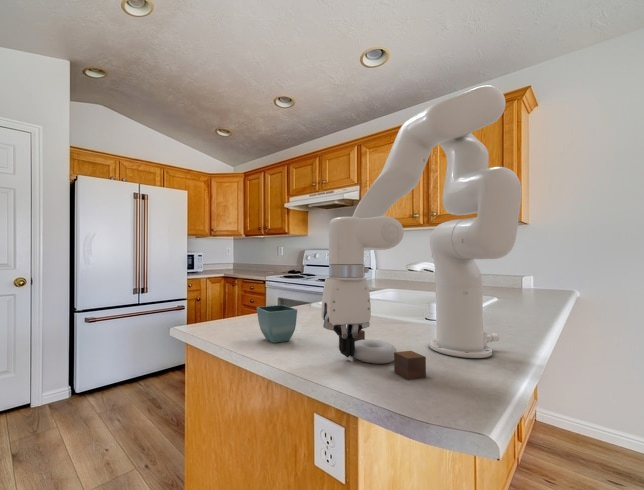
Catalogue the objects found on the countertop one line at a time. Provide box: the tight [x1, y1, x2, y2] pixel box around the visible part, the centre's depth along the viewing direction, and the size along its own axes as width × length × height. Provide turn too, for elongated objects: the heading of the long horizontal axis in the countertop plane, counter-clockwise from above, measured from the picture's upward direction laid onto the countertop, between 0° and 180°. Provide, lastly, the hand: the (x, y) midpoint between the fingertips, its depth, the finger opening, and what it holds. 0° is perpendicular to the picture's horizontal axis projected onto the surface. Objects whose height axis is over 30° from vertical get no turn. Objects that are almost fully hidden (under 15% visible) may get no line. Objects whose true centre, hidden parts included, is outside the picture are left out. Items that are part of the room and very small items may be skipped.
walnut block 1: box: [346, 327, 366, 341], centre depth 83 cm, size 4×4×4 cm
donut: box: [353, 338, 398, 365], centre depth 72 cm, size 10×4×10 cm
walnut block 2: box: [393, 350, 427, 380], centre depth 62 cm, size 4×4×4 cm
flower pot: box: [256, 304, 298, 344], centre depth 88 cm, size 9×9×9 cm
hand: (346, 354), depth 71 cm, fingers closed
